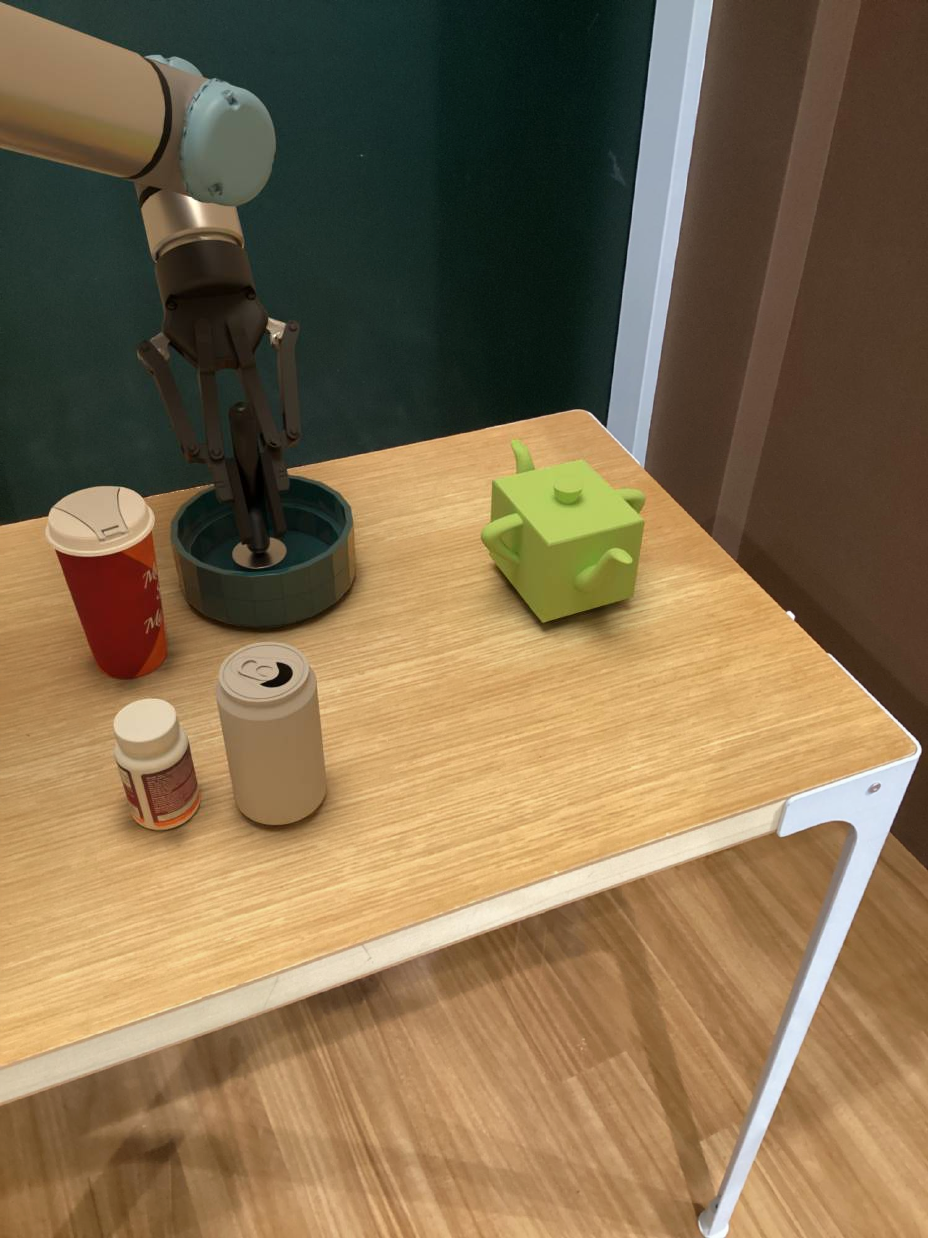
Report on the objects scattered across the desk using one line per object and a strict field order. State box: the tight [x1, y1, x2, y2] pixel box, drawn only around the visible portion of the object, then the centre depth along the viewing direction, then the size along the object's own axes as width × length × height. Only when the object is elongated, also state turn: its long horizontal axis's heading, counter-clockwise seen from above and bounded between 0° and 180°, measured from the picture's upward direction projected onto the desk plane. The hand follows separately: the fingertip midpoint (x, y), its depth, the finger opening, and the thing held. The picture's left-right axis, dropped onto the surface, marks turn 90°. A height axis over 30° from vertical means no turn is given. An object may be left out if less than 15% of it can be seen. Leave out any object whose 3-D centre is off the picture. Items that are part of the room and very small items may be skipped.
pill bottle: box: [112, 698, 201, 831], centre depth 71 cm, size 5×5×8 cm
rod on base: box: [228, 401, 289, 572], centre depth 87 cm, size 5×5×16 cm
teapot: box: [480, 439, 646, 623], centre depth 91 cm, size 15×13×11 cm
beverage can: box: [214, 641, 328, 826], centre depth 71 cm, size 6×6×12 cm
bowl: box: [169, 474, 357, 629], centre depth 92 cm, size 15×15×6 cm
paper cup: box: [44, 485, 168, 680], centre depth 81 cm, size 8×8×14 cm
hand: (264, 537), depth 85 cm, fingers closed on rod on base, 2 cm apart
